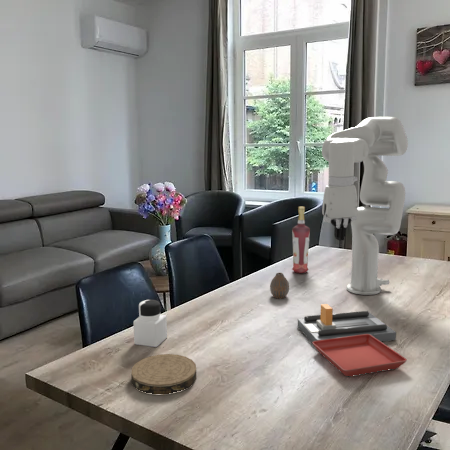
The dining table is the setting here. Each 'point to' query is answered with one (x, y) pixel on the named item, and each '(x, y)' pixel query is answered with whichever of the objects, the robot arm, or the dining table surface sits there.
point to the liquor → (300, 244)
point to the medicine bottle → (150, 324)
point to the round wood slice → (163, 374)
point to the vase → (279, 286)
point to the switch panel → (347, 327)
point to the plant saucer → (359, 354)
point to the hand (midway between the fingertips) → (339, 239)
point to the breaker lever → (326, 318)
